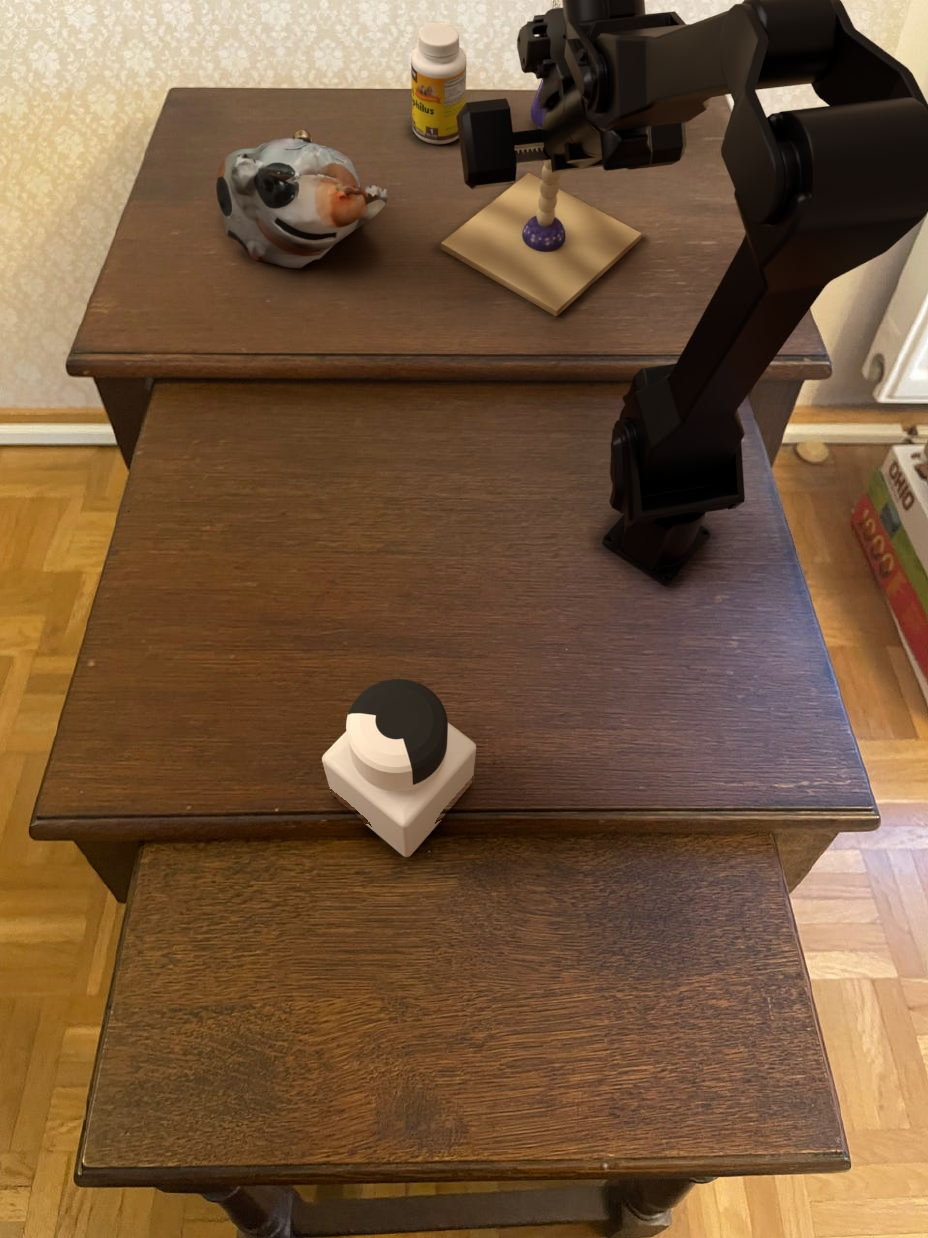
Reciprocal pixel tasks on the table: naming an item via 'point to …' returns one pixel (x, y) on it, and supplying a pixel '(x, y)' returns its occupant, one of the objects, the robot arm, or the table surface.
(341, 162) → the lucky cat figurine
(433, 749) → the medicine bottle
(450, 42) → the supplement bottle
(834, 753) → the table surface
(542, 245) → the toy lamp
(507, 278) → the mat
